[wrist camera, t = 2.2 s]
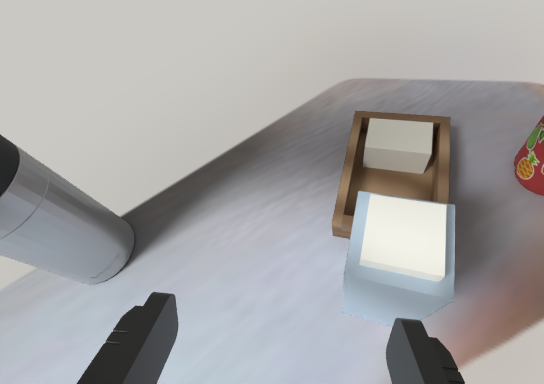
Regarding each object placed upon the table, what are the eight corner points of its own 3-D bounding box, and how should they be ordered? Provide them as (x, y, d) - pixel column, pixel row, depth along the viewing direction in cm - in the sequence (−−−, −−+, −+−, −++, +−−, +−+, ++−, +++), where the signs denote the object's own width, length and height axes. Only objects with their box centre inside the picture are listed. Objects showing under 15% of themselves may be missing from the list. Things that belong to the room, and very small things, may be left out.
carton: (404, 329, 29) (461, 295, 16) (342, 313, 31) (343, 269, 17) (409, 270, 32) (461, 195, 18) (351, 257, 34) (359, 181, 20)
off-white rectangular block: (422, 174, 36) (431, 153, 33) (362, 166, 38) (364, 147, 35) (424, 144, 38) (433, 122, 35) (367, 139, 40) (369, 118, 37)
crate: (436, 255, 32) (447, 241, 29) (332, 235, 35) (332, 221, 32) (440, 138, 39) (450, 117, 36) (354, 131, 42) (355, 110, 39)
